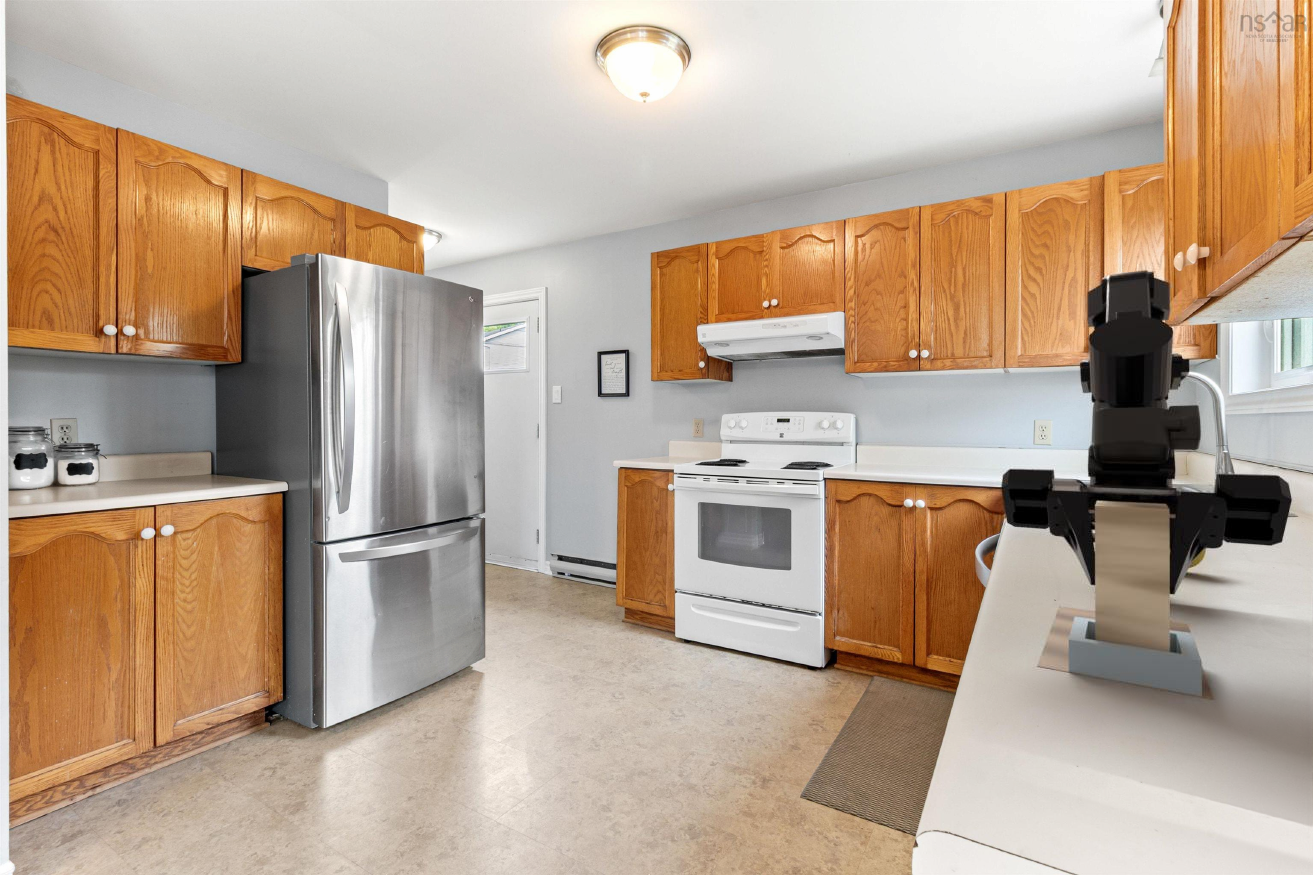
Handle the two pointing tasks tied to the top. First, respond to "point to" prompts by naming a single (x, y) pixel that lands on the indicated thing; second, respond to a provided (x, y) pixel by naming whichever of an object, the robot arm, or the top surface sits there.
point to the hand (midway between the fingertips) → (1131, 586)
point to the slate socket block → (1136, 660)
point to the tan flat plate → (1058, 645)
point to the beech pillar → (1132, 574)
